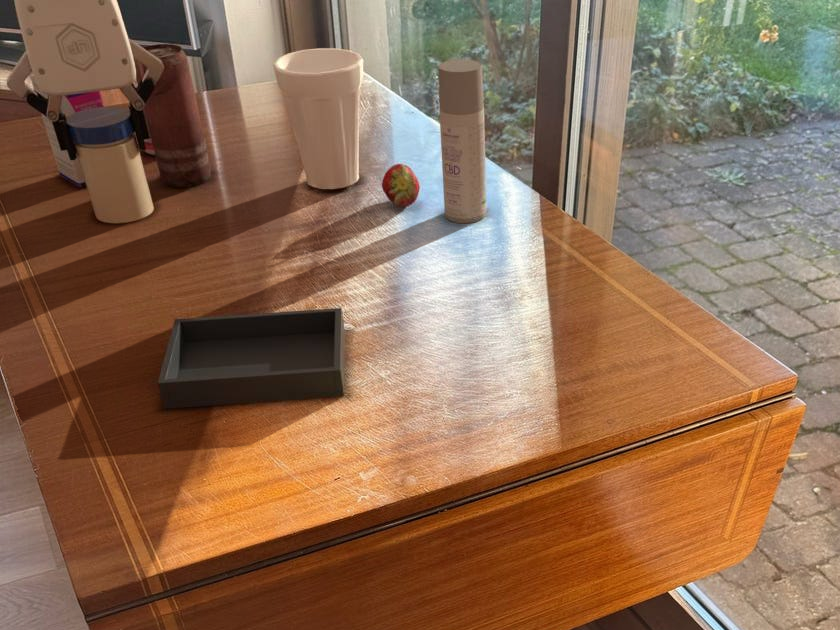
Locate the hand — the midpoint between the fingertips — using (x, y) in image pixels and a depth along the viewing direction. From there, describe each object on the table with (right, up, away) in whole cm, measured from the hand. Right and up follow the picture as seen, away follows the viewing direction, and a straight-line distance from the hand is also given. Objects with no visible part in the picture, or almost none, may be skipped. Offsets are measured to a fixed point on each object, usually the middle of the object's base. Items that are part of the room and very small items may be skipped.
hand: (107, 150), depth 108 cm
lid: (0, +2, -2) cm, 3 cm away
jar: (0, -5, +5) cm, 7 cm away
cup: (+24, +1, +10) cm, 25 cm away
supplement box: (-7, +3, +13) cm, 15 cm away
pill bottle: (0, +9, +19) cm, 21 cm away
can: (+5, +2, +11) cm, 13 cm away
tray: (+22, -30, -21) cm, 43 cm away
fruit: (+32, -4, +4) cm, 33 cm away
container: (+40, -7, +2) cm, 40 cm away
